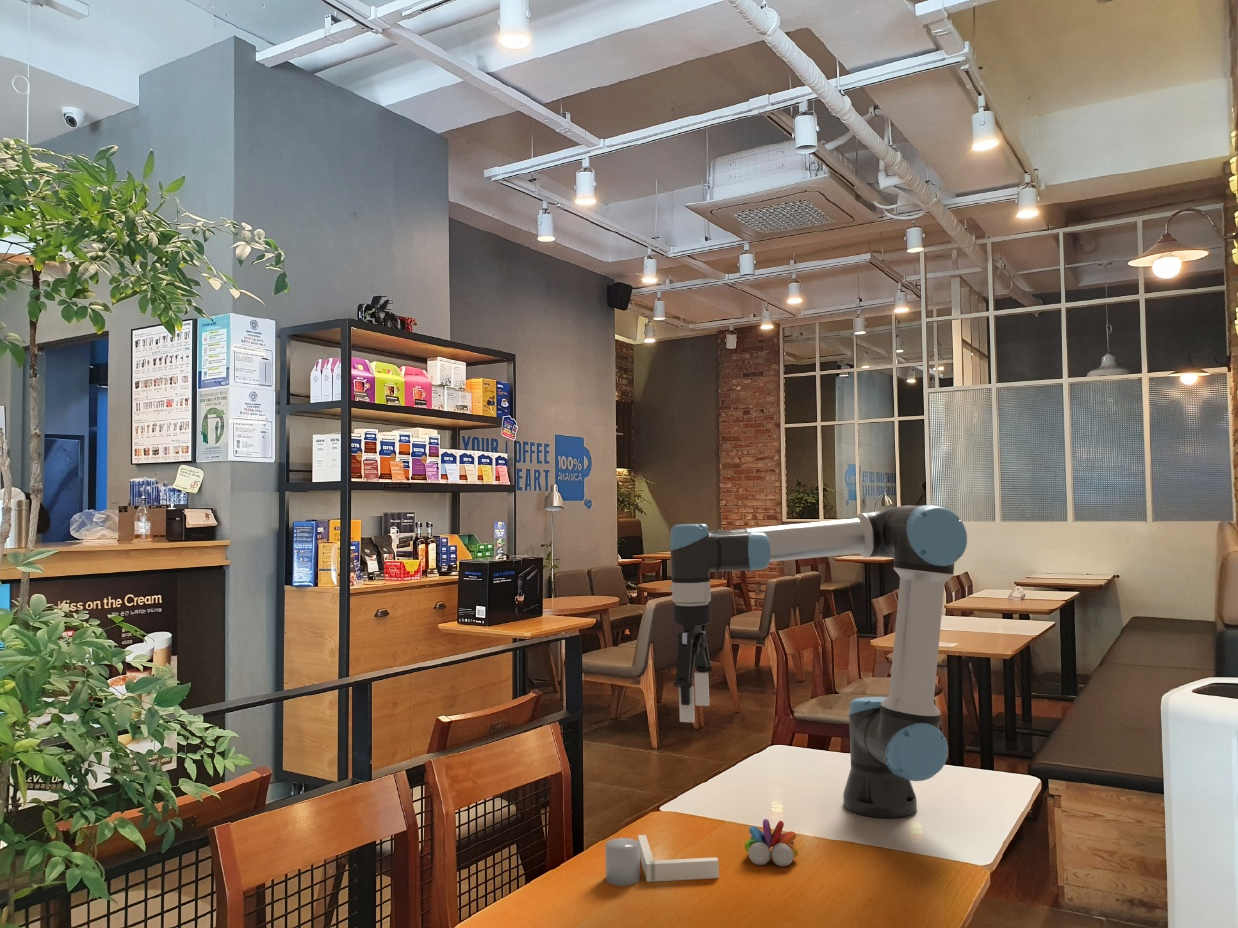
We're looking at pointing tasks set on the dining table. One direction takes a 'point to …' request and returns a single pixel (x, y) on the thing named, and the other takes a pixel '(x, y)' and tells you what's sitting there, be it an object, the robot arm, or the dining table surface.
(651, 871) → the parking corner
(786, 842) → the rainbow petal fan toy
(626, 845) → the short grey cylinder
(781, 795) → the dining table surface
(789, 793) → the dining table surface
